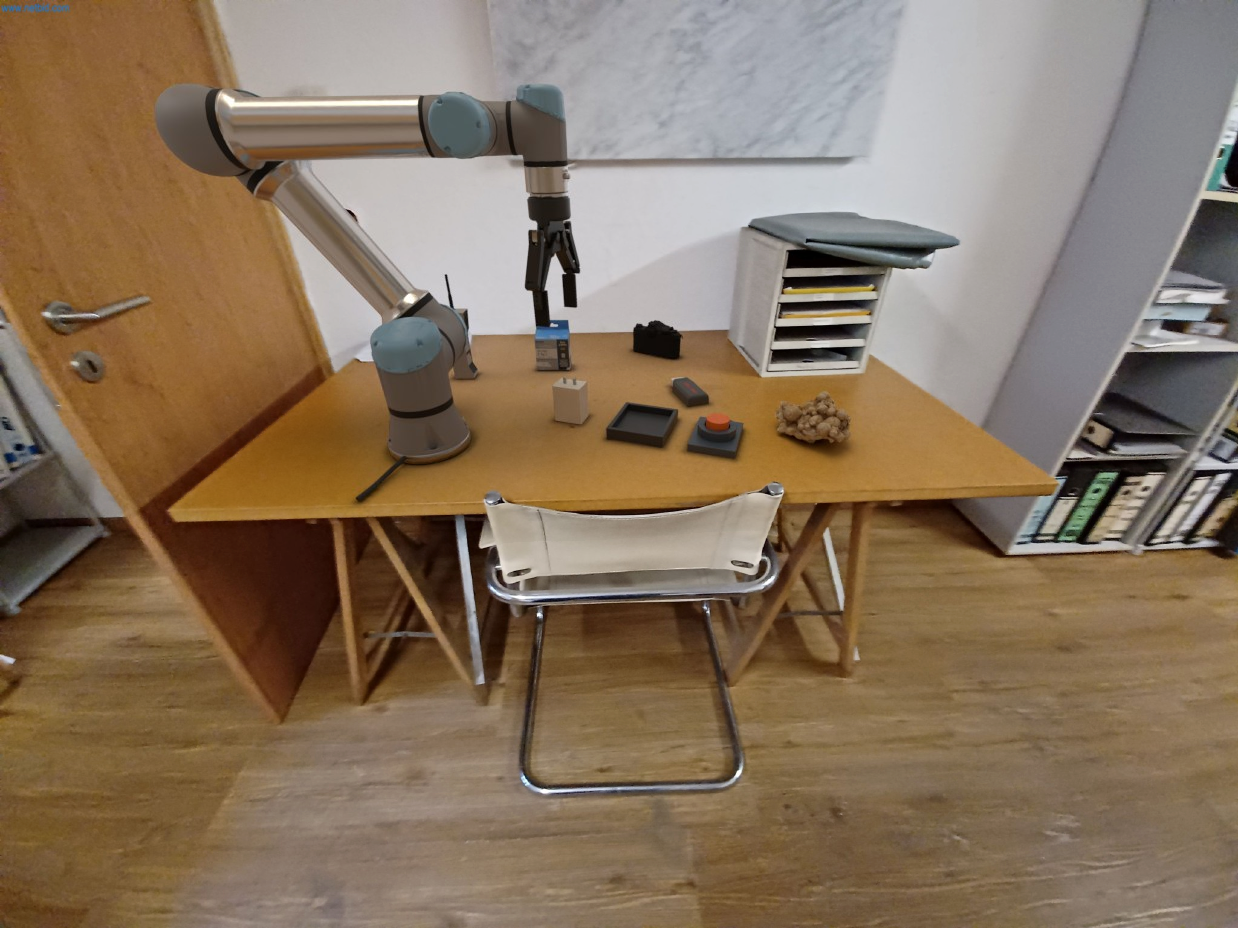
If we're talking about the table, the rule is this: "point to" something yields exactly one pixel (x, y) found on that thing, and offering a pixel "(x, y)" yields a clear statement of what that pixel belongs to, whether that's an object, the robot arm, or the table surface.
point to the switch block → (715, 439)
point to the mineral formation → (814, 420)
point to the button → (717, 422)
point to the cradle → (642, 424)
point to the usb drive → (689, 392)
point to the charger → (570, 400)
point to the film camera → (657, 340)
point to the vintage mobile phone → (465, 364)
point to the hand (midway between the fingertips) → (557, 316)
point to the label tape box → (553, 346)
